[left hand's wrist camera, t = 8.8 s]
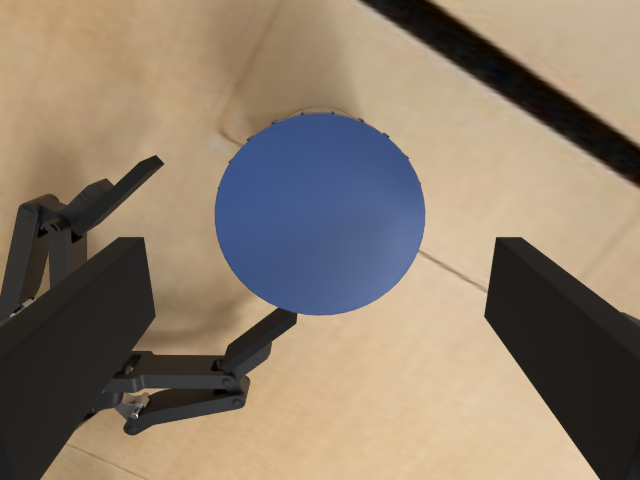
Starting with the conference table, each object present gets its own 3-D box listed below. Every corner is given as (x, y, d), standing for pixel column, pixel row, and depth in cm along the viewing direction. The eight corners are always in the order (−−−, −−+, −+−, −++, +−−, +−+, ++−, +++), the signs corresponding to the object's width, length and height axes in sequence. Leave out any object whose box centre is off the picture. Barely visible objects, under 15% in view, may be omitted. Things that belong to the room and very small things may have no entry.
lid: (343, 63, 18) (345, 61, 16) (455, 232, 20) (466, 244, 19) (180, 192, 20) (168, 201, 18) (301, 331, 22) (300, 350, 21)
